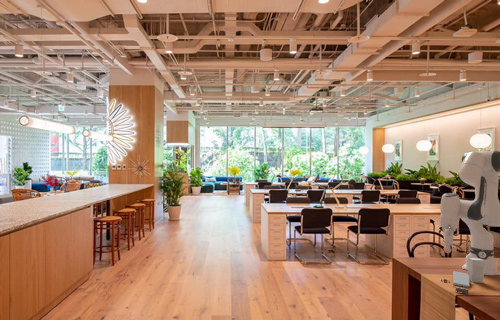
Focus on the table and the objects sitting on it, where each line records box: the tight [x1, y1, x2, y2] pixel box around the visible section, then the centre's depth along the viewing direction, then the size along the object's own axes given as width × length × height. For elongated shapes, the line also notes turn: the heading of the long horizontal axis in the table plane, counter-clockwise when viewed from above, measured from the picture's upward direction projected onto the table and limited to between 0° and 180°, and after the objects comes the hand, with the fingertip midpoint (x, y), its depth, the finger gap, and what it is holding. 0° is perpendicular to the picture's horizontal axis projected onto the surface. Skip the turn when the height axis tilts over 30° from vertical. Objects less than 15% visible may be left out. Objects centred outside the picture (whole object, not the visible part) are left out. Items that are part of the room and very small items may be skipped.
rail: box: [455, 287, 469, 295], centre depth 167 cm, size 1×5×2 cm, turn 60°
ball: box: [443, 245, 452, 254], centre depth 184 cm, size 4×4×4 cm
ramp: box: [452, 270, 470, 289], centre depth 182 cm, size 12×7×4 cm, turn 150°
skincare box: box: [467, 258, 485, 284], centre depth 187 cm, size 6×4×12 cm
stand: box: [440, 278, 451, 284], centre depth 184 cm, size 4×4×1 cm
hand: (447, 249), depth 184 cm, fingers closed on ball, 4 cm apart
